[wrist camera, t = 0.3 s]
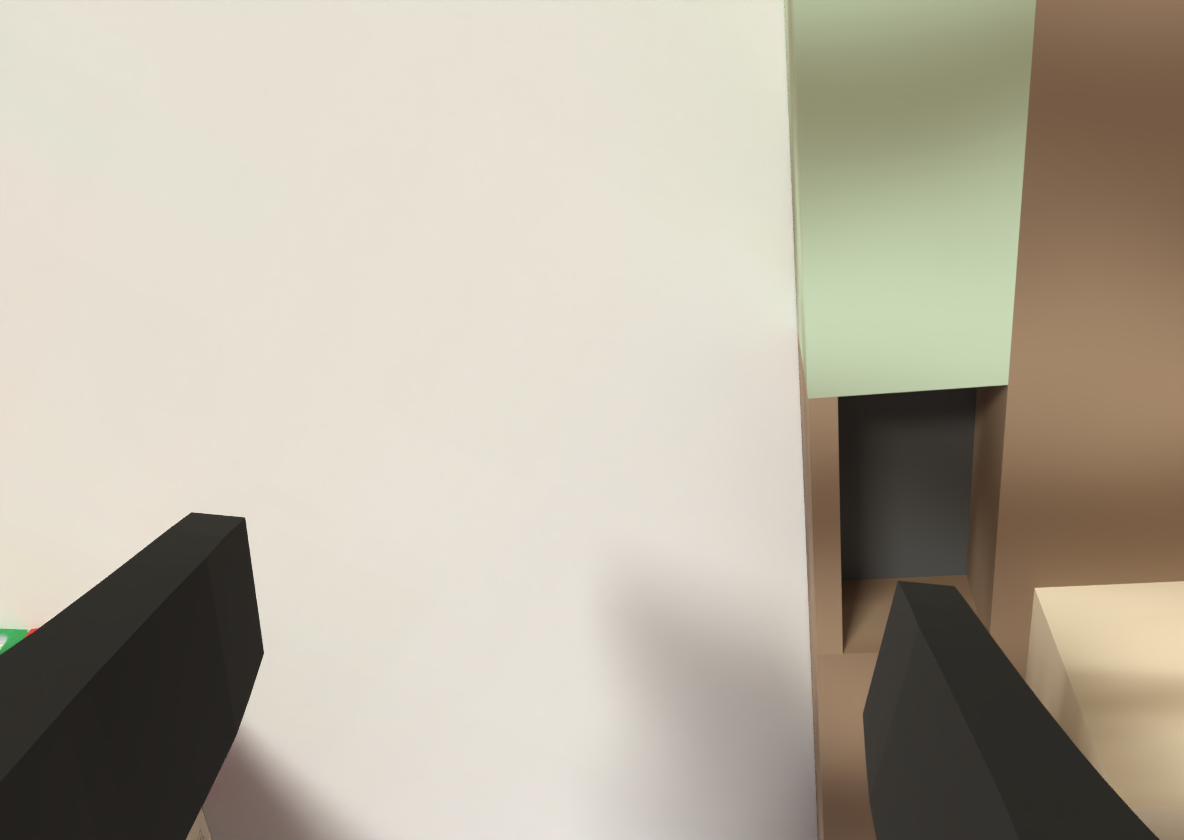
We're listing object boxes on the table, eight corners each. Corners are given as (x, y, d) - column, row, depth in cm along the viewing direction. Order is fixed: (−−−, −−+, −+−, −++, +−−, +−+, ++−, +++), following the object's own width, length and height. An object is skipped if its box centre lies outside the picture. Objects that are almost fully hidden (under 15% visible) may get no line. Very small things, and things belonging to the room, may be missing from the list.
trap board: (1349, 869, 28) (1402, 964, 26) (819, 875, 30) (828, 963, 28) (1780, -352, 15) (1959, -362, 13) (776, -206, 17) (786, -195, 14)
